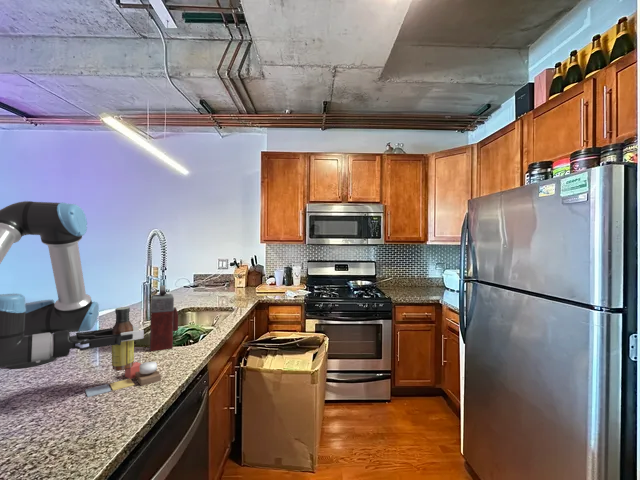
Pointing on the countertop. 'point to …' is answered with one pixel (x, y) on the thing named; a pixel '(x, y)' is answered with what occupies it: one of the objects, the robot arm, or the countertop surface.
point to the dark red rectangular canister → (162, 321)
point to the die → (132, 370)
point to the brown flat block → (147, 378)
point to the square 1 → (97, 390)
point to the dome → (148, 367)
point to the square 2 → (121, 384)
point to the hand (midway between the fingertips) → (140, 331)
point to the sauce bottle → (125, 351)
